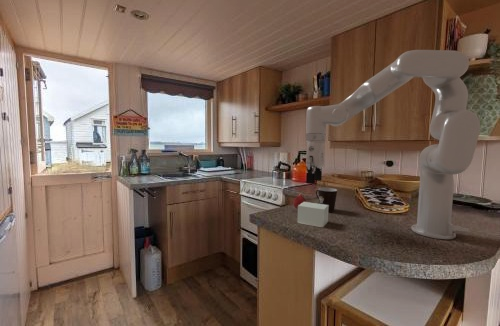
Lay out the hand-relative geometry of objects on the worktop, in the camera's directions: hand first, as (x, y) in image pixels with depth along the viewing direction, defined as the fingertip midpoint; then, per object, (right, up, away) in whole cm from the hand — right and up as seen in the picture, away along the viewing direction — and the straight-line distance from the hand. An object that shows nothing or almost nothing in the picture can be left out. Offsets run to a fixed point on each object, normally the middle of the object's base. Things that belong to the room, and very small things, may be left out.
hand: (314, 181), depth 96 cm
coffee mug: (+11, -15, +20) cm, 28 cm away
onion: (-2, -15, +18) cm, 23 cm away
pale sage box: (0, -16, +1) cm, 16 cm away
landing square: (0, -16, +1) cm, 16 cm away
